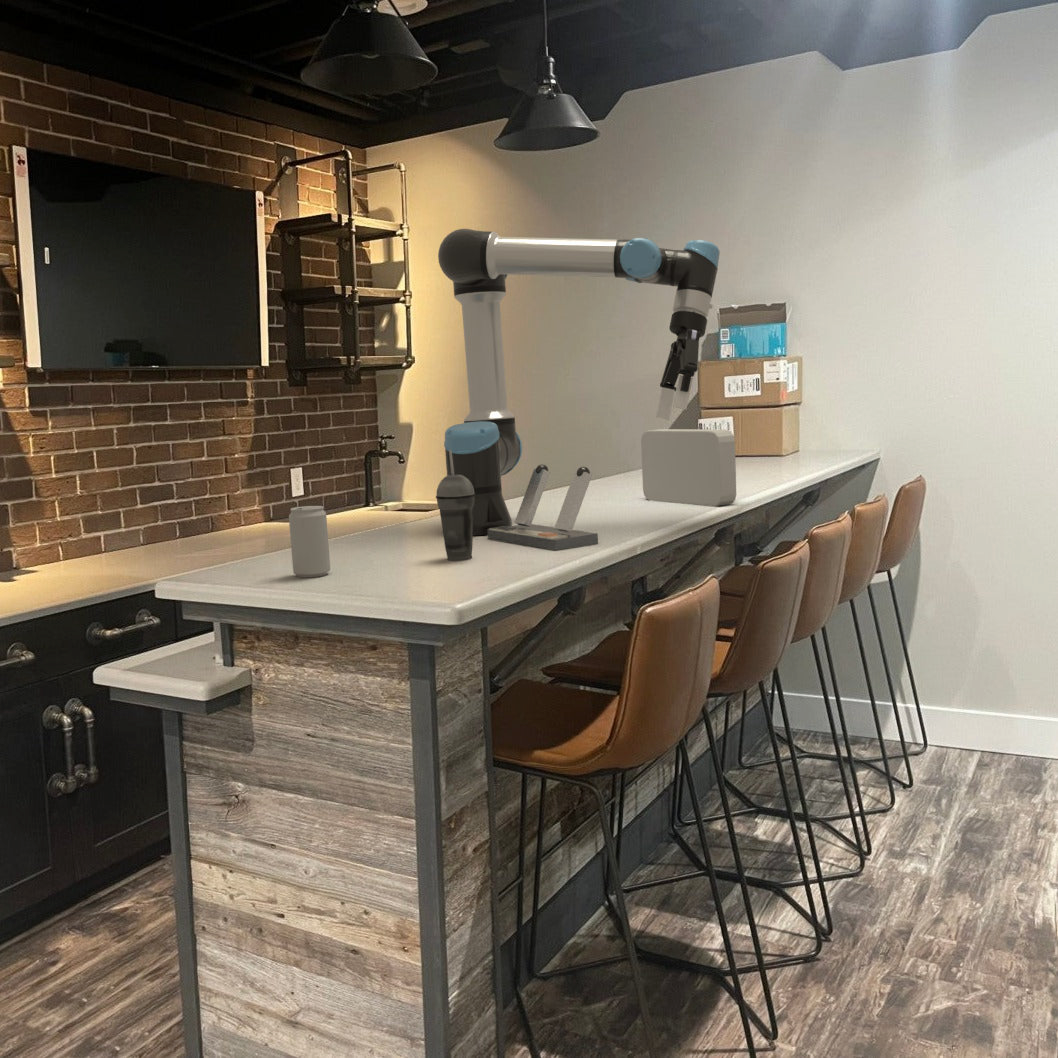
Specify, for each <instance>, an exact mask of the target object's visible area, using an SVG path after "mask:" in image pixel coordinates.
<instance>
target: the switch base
mask: <svg viewBox="0 0 1058 1058" xmlns="http://www.w3.org/2000/svg"><path fill="white" fill-rule="evenodd" d="M487 532H488V534H487V540H492V541H499V542H505V543H509V544H515V545H522V546H527V547H533V548H538V549H546V550H551V551H555V552H556V551H562V550H563V551H564V550H568V549H574V548H579V547H580V548H581V547H586V546H592V545H598V544H599V534H598V533H597V532H591V531H584V530H576V529H572V532H571V533H569V532H562V531H559V530H557V529H555V526H547V525H540V524H534V523H531V526H530V527H528V526H521V525H518V524H516V525H515V524H514V525H512V526H502V527H495V528H489V529H487Z"/></svg>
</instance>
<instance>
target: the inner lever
mask: <svg viewBox="0 0 1058 1058" xmlns="http://www.w3.org/2000/svg"><path fill="white" fill-rule="evenodd" d="M550 473H551V472H549V467H548V466H547V464H543V463H542V464H539V465H537V467H536V468H533V471H532V474H531V477H530V479H529V481H528V485H527V488H526V491H525V492H524V495H523V499H522V501H521V503H520V506H519V509H518V512H517V515H516V518H515V521H514V524H516V525H521V526H528V527H530V526H531V524H533V520H534V519H535V516H536V515H535V514H536V512H537V510H538V507H539V503H540V501H541V498H542V497H543V496H542V495H543V493H544V490H545V488H546V486H547V482H548V480H549V477H550Z"/></svg>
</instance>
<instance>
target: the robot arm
mask: <svg viewBox="0 0 1058 1058" xmlns="http://www.w3.org/2000/svg"><path fill="white" fill-rule="evenodd" d="M441 241H442V242H441V243H440V245H439V248H438V255H437V257H438V258H437V260H438V264H439V267H440V270H441V271H442V273H443V274H444V275H445V276H446V277H447V278H448V279H449V280H450V281H452V283H453V284H452V285H453V295H454V296H453V297H454V299H456V301H458V302H459V303H460V305H461V311H462V323H463V337H464V349H465V350H464V353H465V365H466V376H467V377H466V378H467V392H468V401H469V412H468V414H467V415H466V417H465V418H464V419H463V423H458V424H453V425H451V426H449V427H448V428H447V429H446V430H445V431H444V432H445V433H444V444H443V446H444V450H445V451H444V452H445V467H446V476H448V475H452V474H451V465H450V456H449V450H452V459H453V468H454V474H460V475H463V476H465V477H466V478H467V479H468V480H469V481H470V482H471V483H472V485H473V488H474V493H475V502H474V507H473V536H485V535H487V536H488V532H487V529H489V528H495V527H502V526H513V524H512V516H511V514H510V512H509V509H508V507H507V504H506V501H505V499H504V496H503V490H502V476H505V475H507V474H509V473H510V472H511V471H512V470H513V469H514V468H516V466H517V465H518V463H519V462H520V460H521V457H522V453H523V444H522V443H523V442H522V440H521V437H520V436H519V434H518V432H517V429H516V418H515V417H516V416H515V415H514V414H513V413H512V412H510V410H509V409H508V398H507V397H508V396H507V384H506V369H505V358H504V357H505V355H504V341H503V328H502V316H501V315H502V314H501V301H502V300H503V298H504V297H505V296H506V295H507V292H506V290H507V289H506V278H507V277H508V276H509V275H510V276H511V275H512V276H514V275H515V276H516V275H517V276H518V275H519V276H544V277H545V276H546V277H548V276H549V277H550V276H551V277H552V276H553V277H558V276H559V277H584V278H585V277H587V278H617V279H625V280H626V281H630V282H635V283H638V284H651V285H659V286H661V285H662V286H670V287H677V288H676V292H675V296H674V302H673V306H672V311H673V313H671V319H670V323H669V328H668V329H669V331H670V332H671V334H674V335H676V337H677V338H676V341H673V342H672V343H671V344H670V350H669V353H668V354H669V355H668V356H667V357H668V358H667V361H666V364H665V368H664V370H663V374H662V376H661V377H662V378H661V382H660V383H659V386H660V388H661V392H660V397H659V400H658V401H659V402H658V407H657V412H656V418H657V419H658V418H659V419H661V420H662V419H663V420H666V421H669V420H670V417H671V412H672V407H673V408H677V409H680V410H684V411H685V410H687V409H688V403H689V401H690V400H689V399H690V394H691V388H692V382H693V379H694V376H695V373H697V371H698V370H699V369H698V368H699V367H698V366H699V365H698V364H699V348H700V338H702V337H704V336H705V335H706V329H707V324H708V319H707V317H708V316H709V313H710V310H711V309H713V304H712V303H711V301H712V297H713V292H714V288H715V283H716V278H717V273H718V270H719V268H718V267H719V260H720V253H721V251H720V249H719V247H718V246H717V245H716V244H715V243H713V242H710V241H708V240H703V239H697V240H694V239H693V240H689V241H688V242H686V244H685V246H684V248H683V249H671V248H663V247H659V246H658V245H657V244H656V243H655V242H654V241H653V240H651V239H648V238H644V237H635V238H632V239H617V238H616V239H614V238H613V239H611V238H568V237H566V238H565V237H564V238H563V237H562V238H561V237H560V238H559V237H527V236H525V237H524V236H523V237H520V236H517V237H516V236H500V235H499V234H498V233H497V232H496V231H484V230H483V231H482V230H475V229H470V228H459V229H456V230H453V231H451V232H450V233H448V234H447V235H446V236H445V237H444V238H443V239H442V240H441Z"/></svg>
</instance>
